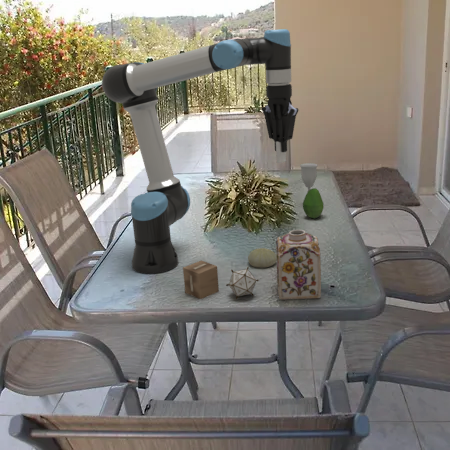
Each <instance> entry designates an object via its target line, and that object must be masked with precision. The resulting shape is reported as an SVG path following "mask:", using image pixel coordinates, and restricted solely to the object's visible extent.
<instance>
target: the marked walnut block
mask: <svg viewBox="0 0 450 450" xmlns="http://www.w3.org/2000/svg"><path fill="white" fill-rule="evenodd" d="M218 273H219V272H218V265H215V264H213V263H210V262H207V261H203V260H199V261H196V262H194V263H191V264H189V265H186V266H183V267H182V274H183V283H184V292H185V294H187V295H189V296H192V297H194V298H196V299H199V300H203V299H205V298H207V297H209V296H212V295H214V294H216V293H218V292H220V290H219V289H220V288H219V286H220V285H219V274H218Z"/></svg>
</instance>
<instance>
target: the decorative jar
mask: <svg viewBox="0 0 450 450" xmlns="http://www.w3.org/2000/svg"><path fill="white" fill-rule="evenodd" d="M275 249H276V250H275V254H276V255H277V257H276V258H277V261H276V282H277V284H276V285H277V293H278V298H279V300H280V301H281V300H283V301H285V300H286V301H287V300H306V299H307V300H309V299H310V300H311V299H313V300H314V299H320V298H321V296H322V295H321V294H322V277H321V276H322V274H321V273H322V272H321V271H322V268H321V267H322V266H321V265H322V264H321V262H322V261H321V248H320V244H319V238H318V237H317V236H315V235H313V234H310V233H309V232H306V231H305V230H303V229H292V230H291V231H289V232H288V233H286V234H283V235H281V236H278V237H277V238H276V241H275Z"/></svg>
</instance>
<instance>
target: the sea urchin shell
mask: <svg viewBox="0 0 450 450" xmlns="http://www.w3.org/2000/svg"><path fill="white" fill-rule="evenodd" d="M276 257H277V255H276V252H274V251H273V250H272V249H269V248H265V247H264V248H263V247H262V248H261V247H260V248H259V247H258V248H256V249H253V250H251V251H250V252H249V254H248V256H247V259H248V260H247V261H248V263H249V264H250V266H251V267H254V268H263V269H265V268H270V267H272V266H274V265H276V264H277V258H276Z"/></svg>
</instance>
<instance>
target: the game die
mask: <svg viewBox="0 0 450 450" xmlns="http://www.w3.org/2000/svg"><path fill="white" fill-rule="evenodd" d="M249 269H250V268H249V266H247V267H246V268H245V269H241V270H235V271H234V270H233V269H231V270H230V271H231V273H232V274H231V276H230V279H229V282H228V283H226V284H225V286H227V287H228V286H229V287H230V289H231V291H232V292H233V293H234V295H235V296H236V297H235V299H236V300H237V299H238V298H239V297H242V296H247V295H251V296H254V293H253V291H254V289H255V286H256V284H257V282H259V281H260V279H256V278H255V276H254V275H253V274H252V273H251V272H250V270H249Z"/></svg>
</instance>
